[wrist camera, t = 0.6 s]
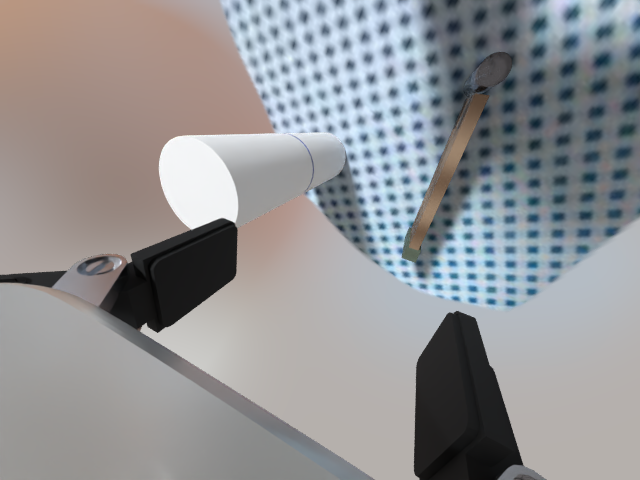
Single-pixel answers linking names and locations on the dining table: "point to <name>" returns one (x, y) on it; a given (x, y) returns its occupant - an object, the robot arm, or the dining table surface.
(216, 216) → the cylindrical container
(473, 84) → the hinge post
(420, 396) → the robot arm
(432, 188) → the wooden plank on edge
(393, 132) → the dining table surface
